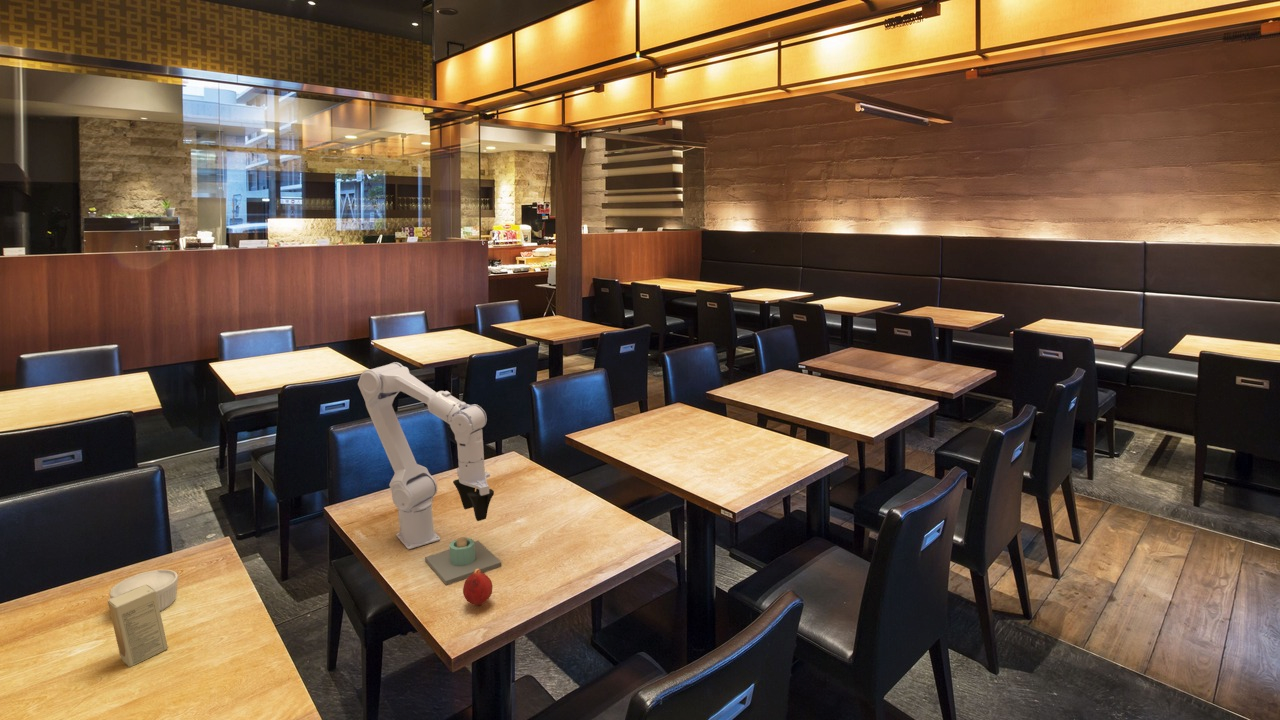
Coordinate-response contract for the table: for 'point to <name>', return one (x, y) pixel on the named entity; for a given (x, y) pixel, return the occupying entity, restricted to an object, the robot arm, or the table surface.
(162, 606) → the ramekin
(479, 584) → the onion
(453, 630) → the table surface
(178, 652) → the table surface
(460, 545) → the beech post
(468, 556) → the green ring
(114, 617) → the skincare box
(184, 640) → the table surface
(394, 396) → the robot arm
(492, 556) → the grey board
